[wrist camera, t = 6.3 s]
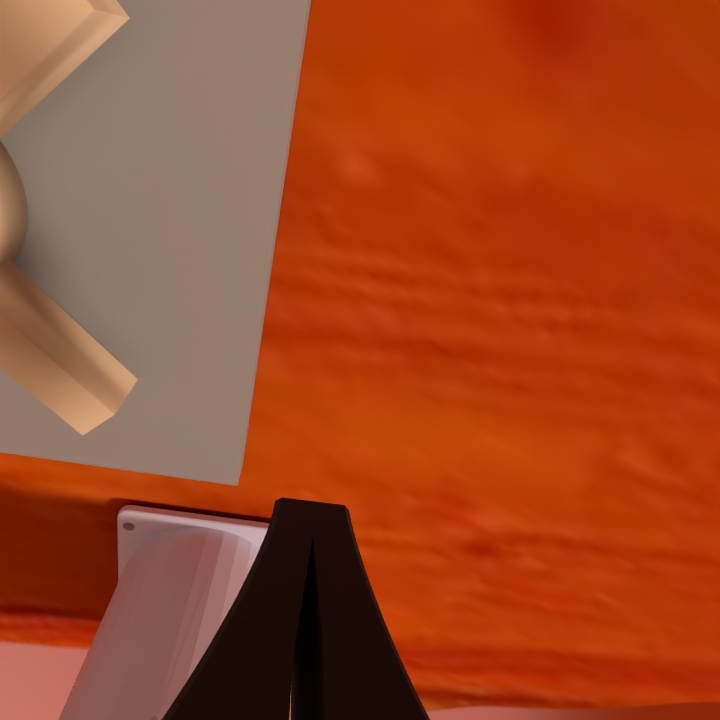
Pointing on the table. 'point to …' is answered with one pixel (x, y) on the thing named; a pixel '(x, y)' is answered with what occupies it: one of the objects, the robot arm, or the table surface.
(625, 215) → the table surface
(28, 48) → the capstan
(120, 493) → the table surface
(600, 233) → the table surface
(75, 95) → the stand board
